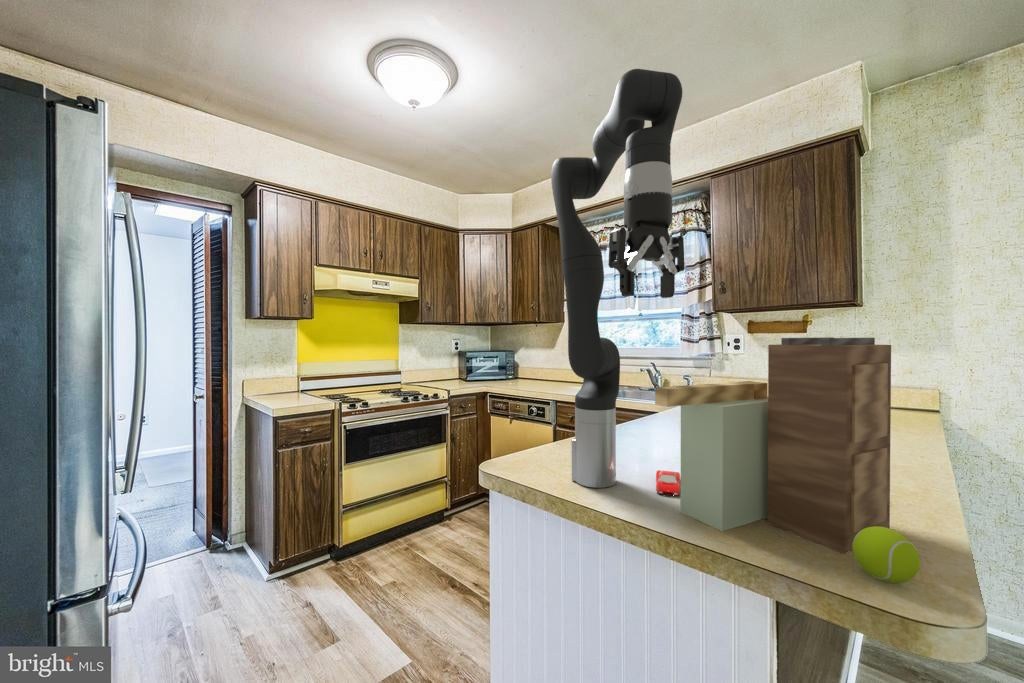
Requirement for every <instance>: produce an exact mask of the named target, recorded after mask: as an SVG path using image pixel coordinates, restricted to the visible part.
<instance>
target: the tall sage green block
mask: <svg viewBox="0 0 1024 683" xmlns="http://www.w3.org/2000/svg"><path fill="white" fill-rule="evenodd" d="M681 512H682V514H684V515H686V516H687V517H690V518H693V519H694V518H695V520H697V521H700V522H701V523H703V524H706V525H708V526H709V527H712V528H714V529H716V530H719V531H721V532H725V531H729V530H732V529H734V528H738V527H741V526H744V525H748V524H752V523H754V522H758V521H760V520H764V519H768V397H767V399H758V400H756V399H751V400H740V401H728V402H717V403H705V404H694V405H682V406H680V513H681ZM757 520H758V521H757ZM747 523H748V524H747Z"/></svg>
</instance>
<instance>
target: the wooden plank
mask: <svg viewBox="0 0 1024 683" xmlns="http://www.w3.org/2000/svg"><path fill="white" fill-rule="evenodd" d="M767 398H768V382H761V381H752V380H744V381H741V380H740V381H735V382H733V381H731V382H717V383H703V384H688V385H687V384H685V385H672V386H657V387H654V403H655V405H657V406H661V407H667V408H668V407H681V406H682V405H694V404H705V403H717V402H728V401H740V400H751V399H756V400H758V399H767Z"/></svg>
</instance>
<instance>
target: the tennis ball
mask: <svg viewBox="0 0 1024 683" xmlns="http://www.w3.org/2000/svg"><path fill="white" fill-rule="evenodd" d="M852 547H853V550H852V552H853V556H854V559H855V561H856V563H857V564H858V566H860V567H861V569H862V570H863V571H865V572H866V573H867V574H868V575H869V576H871V577H872V578H875V579H876V580H879V581H882V582H885V583H888V584H889V583H890V584H903V583H907V582H909V581H911V580H912V579H914V578H915V577H916V576H917V574H918V573H919V572H920V568H921V558H920V554H919V552H918V550H917V548H916V547H915V545H914V544H913V542H912V541H910V539H908V538H907V537H906V536H904V535H903V534H902V533H900V532H899V531H896V530H894V529H891V528H890V529H889V528H885V527H878V526H874V527H868V528H865V529H863V530H861V531H860V532H858V533H857V535H856V536H855V538H854V540H853V546H852Z"/></svg>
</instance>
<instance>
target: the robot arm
mask: <svg viewBox="0 0 1024 683" xmlns="http://www.w3.org/2000/svg"><path fill="white" fill-rule="evenodd" d="M682 99H683V86H682V83H681V81H680V79H679V78H678V76H677V75H675V74H673V73H671V72H666V71H658V70H657V71H656V70H650V69H644V68H634V69H630V70H628V71H626V72H625V73H624V74H623V75H622V76H621V77H620V78H619V79H618V82H617V84H616V88H615V92H614V96H613V99H612V102H611V104H610V108H609V111H608V112H607V113H606V115H605V117H604V118H603V119H602V121H600V123H599V125H598V126H597V128H596V129H595V132H594V135H593V138H592V151H593V154H594V156H593V157H591V158H590V157H584V156H583V157H582V156H578V157H577V156H574V157H573V156H570V157H569V156H567V157H565V156H564V157H562V156H561V157H557V158H556V159H555V160H554V162H553V163H552V165H551V166H552V167H551V174H550V179H551V190H552V196H553V201H554V206H555V211H556V212H555V213H556V218H557V223H558V230H559V240H560V251H561V265H562V273H563V274H562V275H563V282H564V287H565V301H566V310H567V326H568V327H567V331H568V332H567V338H568V339H567V346H568V348H567V353H568V362H569V366H570V368H571V371H573V373H574V374H575V375H576V376H577V377H578V378H581V379H583V382H582V385H581V387H580V389H579V391H578V392H577V393H576V395H575V397H574V432H575V433H574V438H573V439H571V481H573V482H576V483H577V484H578V485H581V486H583V487H587V488H593V489H594V488H595V489H596V488H597V489H599V488H602V489H603V488H610V487H612V486H614V485H616V483H617V469H616V468H617V459H616V458H617V455H616V454H617V449H616V448H617V446H616V444H617V438H616V437H617V436H616V434H617V431H616V429H617V428H616V427H617V422H616V421H617V420H616V419H617V418H616V416H617V415H616V414H617V413H616V411H617V410H616V408H617V406H616V405H617V399H618V396H619V393H620V377H621V356H620V352H619V348H618V346H617V345H616V343H615V342H613V341H612V340H611V339H610V338H606V337H601V334H600V329H599V319H598V318H599V317H598V313H599V305H600V301H601V296H602V294H603V290H604V285H605V284H604V283H605V270H604V260H603V255H602V249H601V246H600V245H599V244H598V242H597V240H596V239H595V237H594V235H592V233H591V232H590V231H589V229H588V228H587V227H586V226H585V224H584V223H583V221H582V220H581V219H580V216H579V215H578V212H577V210H576V206H575V203H574V200H587V199H588V200H589V199H592V198H593V197H595V196H596V195H597V194H598V193H599V192H600V190H601V189H602V187H603V186H604V184H605V182H606V181H607V179H608V178H609V175H610V174H611V173H612V170H613V169H614V167H615V165H616V163H617V162H618V161H619V159H620V158H621V157H622V156H623V154H624V153H625V173H624V174H625V177H624V182H623V183H624V185H623V227H620V228H617V229H613V230H612V231H611V230H610V233H609V247H608V267H609V268H610V269H615V270H616V271H617V272H618V273H619V291H620V292H619V293H621V296H622V297H632V296H634V295H635V271H633V270H634V268H635V267H636V265H637V263H638V262H639V261H642V260H645V261H647V262H651V263H652V264H653V266H655V267H656V268H657V269H658V271H659V273H660V275H661V276H660V281H659V282H660V289H659V290H660V295H659V296H660V298H662V299H667V298H668V299H670V298H673V296H674V294H675V292H676V290H675V289H676V288H675V287H676V284H675V283H676V281H675V279H676V277H675V276H676V274H677V273H680V272H683V271H684V270H685V269H686V266H685V265H686V264H685V245H684V244H685V243H684V242H685V241H684V239H685V238H684V236H683V235H681V234H680V235H677V236H676V235H675V236H670V235H669V234H670V233H669V228H670V226H671V225H672V223H673V177H672V169H671V168H672V167H671V148H672V146H671V144H672V138H673V137H672V136H673V134H674V130H675V124H676V121H677V117H678V114H679V110H680V108H681V107H680V106H681V103H682ZM647 121H649V122H650V123H651V126H648V127H645V125H646V124H645V123H646V122H647ZM626 245H627V246H628V247H627V249H626Z"/></svg>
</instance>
